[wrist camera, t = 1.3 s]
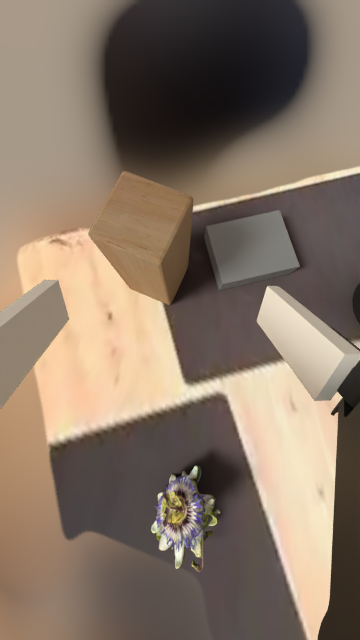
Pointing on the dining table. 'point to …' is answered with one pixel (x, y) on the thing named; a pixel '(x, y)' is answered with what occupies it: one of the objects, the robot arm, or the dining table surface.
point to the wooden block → (146, 235)
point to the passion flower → (184, 516)
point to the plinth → (250, 250)
